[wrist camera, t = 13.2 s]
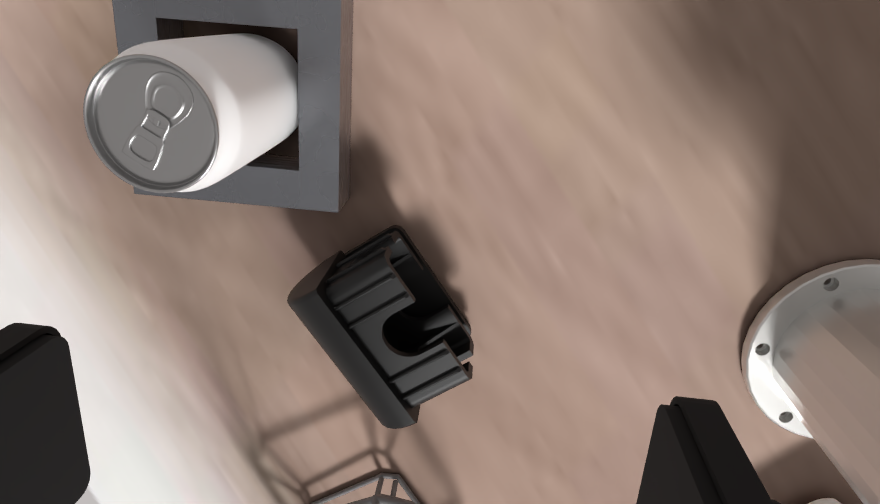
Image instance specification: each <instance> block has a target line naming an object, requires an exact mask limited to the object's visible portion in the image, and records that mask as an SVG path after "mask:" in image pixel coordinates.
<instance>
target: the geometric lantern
mask: <svg viewBox="0 0 880 504" xmlns="http://www.w3.org/2000/svg"><path fill="white" fill-rule="evenodd" d="M384 478H386V479H397V480H394V481H393V485H392V490H391V496H389V495H384V494H380V493H381V489H382V485H383V481H384ZM377 480H379V481H378V484H377V488H376V492H375V495H373V496H372V497H368V498H365V499H361V500H358V501H354V502H351V503H347V504H420V502H419V501H418V499H417V498H416V497H415V495H414V494H413V493H412V491H411V490H410V488H409V487H408V486H407V484H406V483H405V482H404V480H403V479H402V478H401V477H400V475H399V474H390V473H379V474H378V475H376V476H373V477H371V478H369V479H366V480H364V481H362V482H359V483H357V484H355V485H352V486H350V487H348V488H345V489H343V490H341V491H338V492H336V493H334V494H331V495H329V496H327V497H324V498H322V499H320V500H317V501H315V502H313V503H311V504H323V503H325V502H328V501H330V500H332V499H335V498H337V497H340V496H342V495H344V494H347V493H349V492H351V491H354V490H356V489H358V488H361V487H363V486H365V485H368V484H370V483H372V482H375V481H377ZM398 482H399V483H400V485H401V486H402V488H403V489H404V490H405V492H406V493H407V494H408V496H409V497H410V498H411V500H412V501H409V500H405V499H401V498H398V497H395V496H396V491H397V485H398Z"/></svg>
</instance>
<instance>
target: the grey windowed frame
mask: <svg viewBox="0 0 880 504" xmlns="http://www.w3.org/2000/svg"><path fill="white" fill-rule="evenodd" d="M112 3H113V12H114V21H115V30H116V38H117V47H118V55H119V54H120V53H122V52H123V51H125V50H127V49H128V48H131V47H133V46H136V45H139V44H142V43H146V42H152V41H159V40H168V39H179V38H184V32H183V20H192V21H204V22H217V23H229V24H241V25H254V26H266V27H278V28H291V29H298V113H299V158H298V157H287V156H276V155H264V154H262V155H260V156H259V157H257V158H256V159H254V160H252V161H251V162H249V163H248V164H246V165H245V166H243V167H241V168H240V169H238V170H237V171H235V172H233V173H232V174H230V175H228V176H227V177H225V178H223V179H222V180H220V181H218V182H217V183H215V184H213V185H211V186H208V187H206V188H203V189H200V190H196V191H191V192H173V193H155V192H149V191H145V190H142V189H139V188H136V187H134V194H144V195H155V196H165V197H176V198H187V199H198V200H208V201H219V202H230V203H241V204H251V205H262V206H273V207H283V208H294V209H305V210H316V211H326V212H337V213H338V212H339V211H340V210H341V208H342V207H343V206H344V204H345V203H346V202H347V200H348V199H349V190H350V138H351V86H352V34H353V0H112Z"/></svg>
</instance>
